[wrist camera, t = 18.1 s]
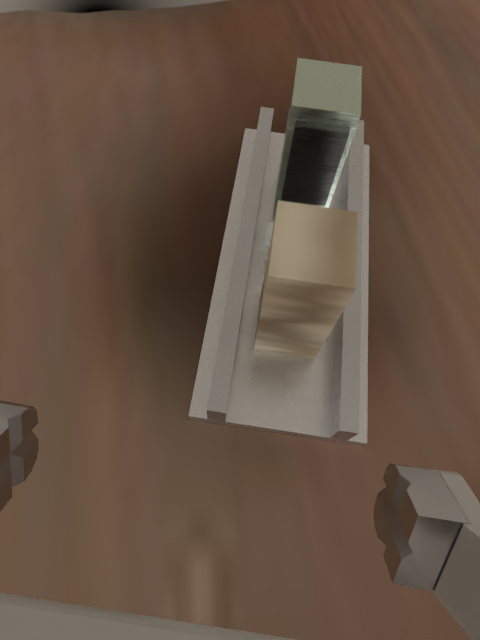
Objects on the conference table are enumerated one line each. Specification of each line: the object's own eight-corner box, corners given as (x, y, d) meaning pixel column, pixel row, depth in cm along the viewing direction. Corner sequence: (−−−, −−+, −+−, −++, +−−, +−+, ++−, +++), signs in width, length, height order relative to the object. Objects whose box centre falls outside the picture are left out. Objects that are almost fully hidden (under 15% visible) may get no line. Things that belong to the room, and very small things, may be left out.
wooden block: (253, 348, 30) (268, 275, 21) (262, 283, 32) (279, 192, 23) (315, 358, 30) (356, 288, 21) (319, 291, 32) (358, 203, 23)
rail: (189, 419, 29) (173, 366, 19) (244, 136, 41) (252, 14, 31) (362, 446, 28) (438, 406, 18) (366, 153, 41) (413, 35, 31)
